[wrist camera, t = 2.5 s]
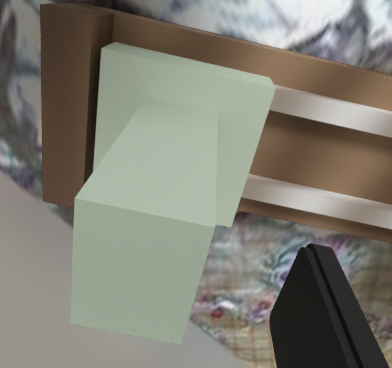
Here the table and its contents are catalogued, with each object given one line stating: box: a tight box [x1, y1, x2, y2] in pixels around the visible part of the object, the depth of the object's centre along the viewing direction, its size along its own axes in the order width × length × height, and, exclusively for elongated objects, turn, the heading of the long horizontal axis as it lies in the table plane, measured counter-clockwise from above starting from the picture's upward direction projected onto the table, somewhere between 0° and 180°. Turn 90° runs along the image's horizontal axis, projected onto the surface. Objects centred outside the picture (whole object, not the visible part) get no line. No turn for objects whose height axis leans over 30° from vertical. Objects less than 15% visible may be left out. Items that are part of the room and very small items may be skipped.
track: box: [40, 2, 392, 243], centre depth 18 cm, size 26×9×4 cm, turn 78°
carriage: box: [70, 42, 276, 345], centre depth 13 cm, size 7×7×10 cm
